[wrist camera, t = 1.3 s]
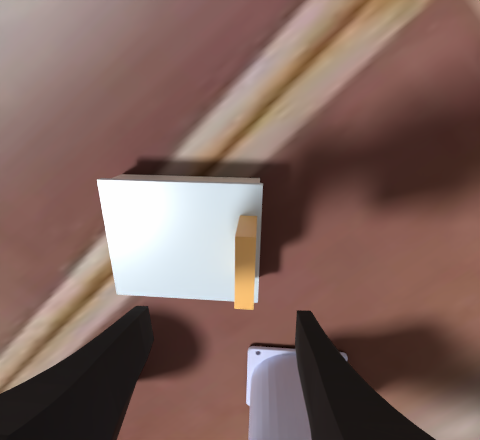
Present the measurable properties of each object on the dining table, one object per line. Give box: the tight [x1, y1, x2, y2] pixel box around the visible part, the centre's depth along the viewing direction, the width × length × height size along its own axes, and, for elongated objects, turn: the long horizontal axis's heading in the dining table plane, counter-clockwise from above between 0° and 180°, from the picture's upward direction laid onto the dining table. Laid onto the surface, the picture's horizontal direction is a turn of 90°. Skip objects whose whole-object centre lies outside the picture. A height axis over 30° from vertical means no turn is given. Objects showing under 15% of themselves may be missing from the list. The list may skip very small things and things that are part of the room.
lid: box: [97, 178, 263, 310], centre depth 19 cm, size 11×9×5 cm
